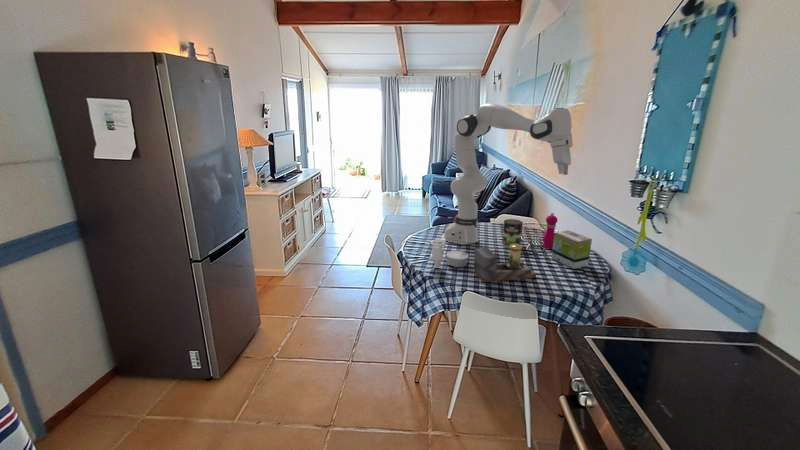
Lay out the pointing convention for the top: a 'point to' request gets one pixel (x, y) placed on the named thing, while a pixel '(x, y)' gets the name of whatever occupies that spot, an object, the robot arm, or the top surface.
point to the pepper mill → (549, 231)
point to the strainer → (438, 252)
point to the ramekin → (457, 258)
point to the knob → (514, 257)
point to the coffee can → (512, 232)
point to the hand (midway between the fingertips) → (563, 174)
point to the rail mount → (497, 268)
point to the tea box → (571, 249)
